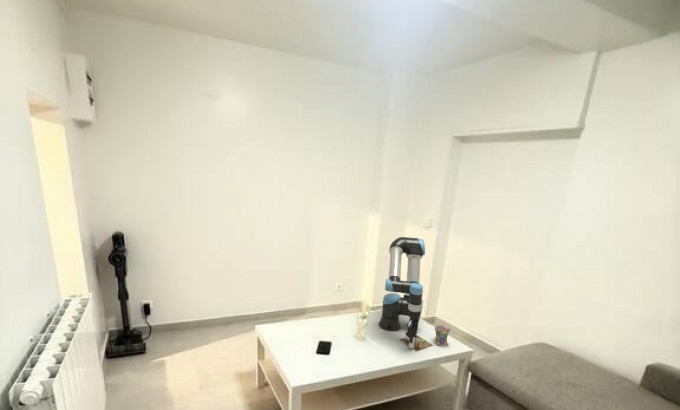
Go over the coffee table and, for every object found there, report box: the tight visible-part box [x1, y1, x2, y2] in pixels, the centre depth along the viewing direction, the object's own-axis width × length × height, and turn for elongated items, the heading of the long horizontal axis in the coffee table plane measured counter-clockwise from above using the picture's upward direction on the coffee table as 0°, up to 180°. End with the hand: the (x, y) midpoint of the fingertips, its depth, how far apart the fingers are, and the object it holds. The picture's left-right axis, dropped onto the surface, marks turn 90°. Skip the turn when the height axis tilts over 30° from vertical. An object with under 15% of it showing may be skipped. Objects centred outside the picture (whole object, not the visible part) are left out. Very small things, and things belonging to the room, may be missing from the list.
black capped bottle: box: [404, 331, 422, 349], centre depth 198 cm, size 12×4×6 cm, turn 33°
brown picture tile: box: [399, 334, 434, 352], centre depth 200 cm, size 15×15×1 cm
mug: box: [433, 325, 451, 348], centre depth 202 cm, size 12×9×11 cm
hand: (411, 347), depth 192 cm, fingers closed
